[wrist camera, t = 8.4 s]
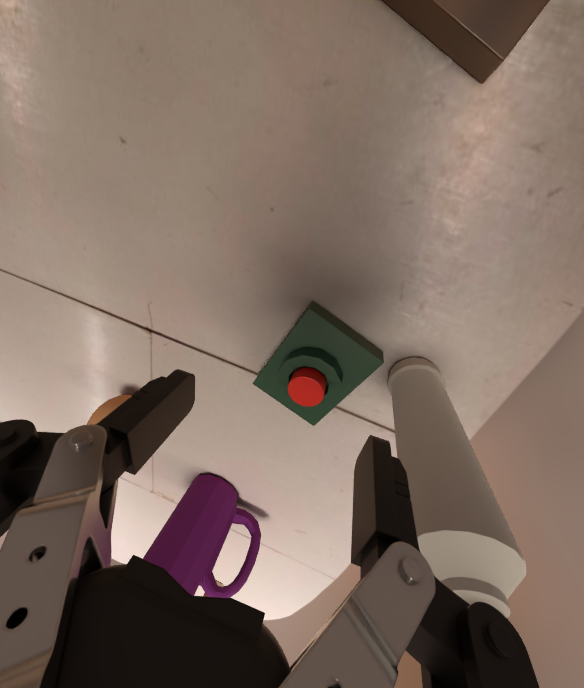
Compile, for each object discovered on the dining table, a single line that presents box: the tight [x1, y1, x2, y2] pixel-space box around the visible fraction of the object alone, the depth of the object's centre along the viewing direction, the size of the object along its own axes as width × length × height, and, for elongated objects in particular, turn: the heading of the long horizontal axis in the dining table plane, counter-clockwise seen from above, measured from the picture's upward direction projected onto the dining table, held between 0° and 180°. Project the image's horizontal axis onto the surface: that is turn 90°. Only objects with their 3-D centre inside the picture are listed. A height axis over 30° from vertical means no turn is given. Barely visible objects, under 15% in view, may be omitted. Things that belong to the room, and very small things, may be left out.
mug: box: [143, 474, 261, 598], centre depth 41 cm, size 9×16×15 cm, turn 70°
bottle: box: [388, 357, 526, 618], centre depth 16 cm, size 5×5×25 cm
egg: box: [87, 395, 132, 425], centre depth 37 cm, size 7×7×9 cm
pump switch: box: [253, 301, 384, 426], centre depth 28 cm, size 12×9×4 cm
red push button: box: [288, 367, 326, 407], centre depth 25 cm, size 4×4×2 cm
